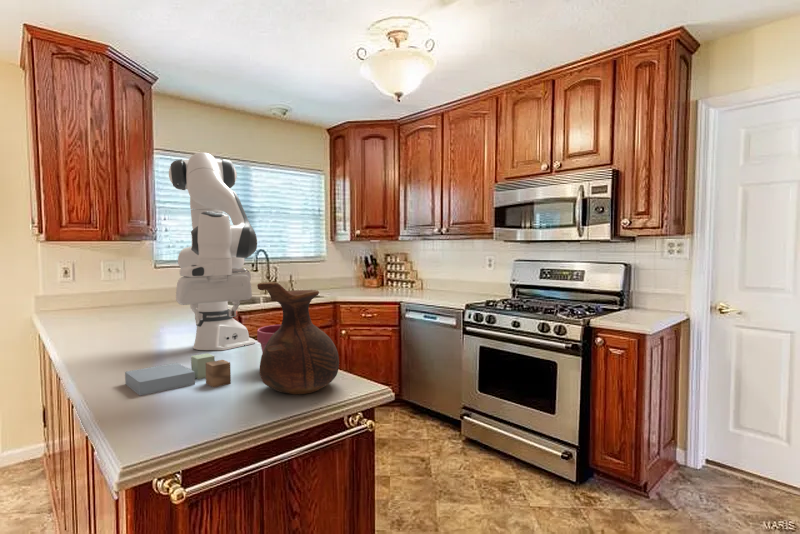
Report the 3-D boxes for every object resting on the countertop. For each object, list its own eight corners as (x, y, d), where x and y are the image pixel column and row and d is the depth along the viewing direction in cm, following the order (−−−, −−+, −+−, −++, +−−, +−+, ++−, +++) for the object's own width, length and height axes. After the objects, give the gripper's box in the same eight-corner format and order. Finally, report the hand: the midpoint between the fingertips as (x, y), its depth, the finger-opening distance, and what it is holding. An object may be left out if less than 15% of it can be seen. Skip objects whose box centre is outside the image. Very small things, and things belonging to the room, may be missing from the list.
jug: (255, 381, 132) (253, 277, 130) (329, 373, 139) (328, 275, 138) (260, 406, 111) (258, 283, 110) (347, 395, 119) (346, 280, 118)
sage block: (208, 372, 142) (207, 353, 141) (214, 375, 138) (214, 356, 138) (191, 375, 138) (191, 356, 138) (197, 379, 134) (197, 358, 134)
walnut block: (223, 379, 134) (222, 359, 133) (230, 383, 130) (230, 362, 130) (205, 383, 130) (205, 362, 130) (213, 387, 127) (212, 366, 126)
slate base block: (177, 375, 140) (177, 362, 139) (195, 385, 130) (194, 371, 129) (125, 385, 130) (125, 371, 130) (139, 397, 120) (139, 382, 120)
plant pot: (287, 376, 137) (287, 333, 136) (248, 372, 142) (247, 330, 141) (312, 364, 151) (311, 325, 150) (275, 360, 155) (274, 323, 154)
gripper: (245, 267, 138) (246, 313, 138) (173, 269, 124) (174, 320, 124) (255, 268, 133) (256, 315, 134) (181, 270, 119) (182, 323, 120)
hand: (216, 318), depth 129 cm, fingers open, 8 cm apart
